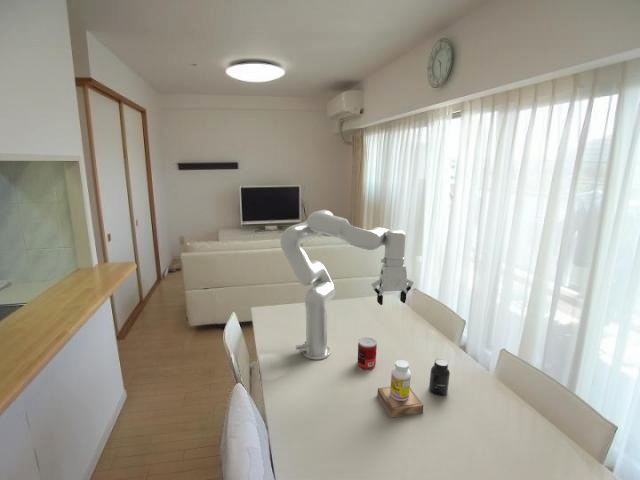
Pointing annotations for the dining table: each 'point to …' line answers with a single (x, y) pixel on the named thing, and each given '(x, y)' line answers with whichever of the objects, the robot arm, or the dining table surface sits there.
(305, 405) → the dining table surface
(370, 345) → the canned food
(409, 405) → the bronze plinth
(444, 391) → the supplement bottle
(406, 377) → the supplement bottle
